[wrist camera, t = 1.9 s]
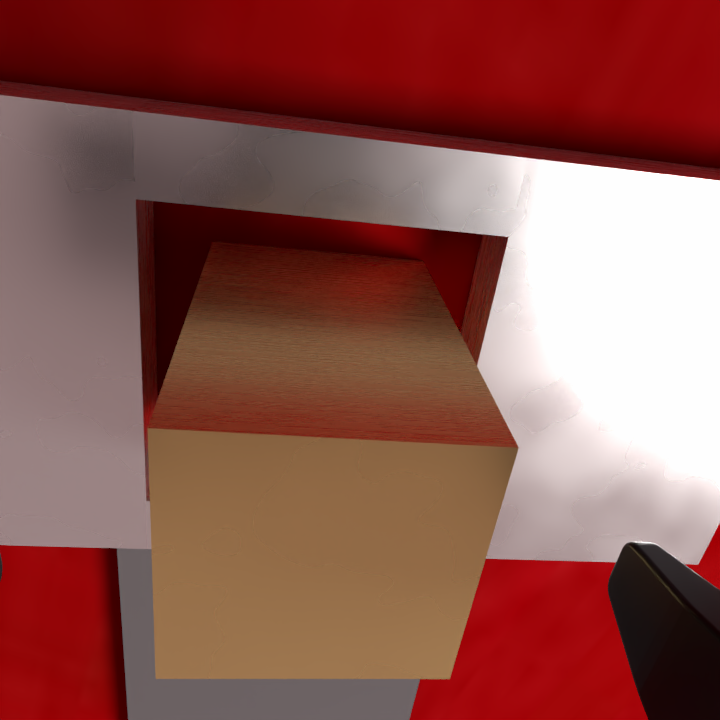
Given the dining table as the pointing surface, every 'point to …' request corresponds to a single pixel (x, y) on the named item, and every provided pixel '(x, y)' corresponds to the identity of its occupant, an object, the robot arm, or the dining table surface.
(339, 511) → the brass block
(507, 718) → the dining table surface
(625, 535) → the rail
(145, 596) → the pad
